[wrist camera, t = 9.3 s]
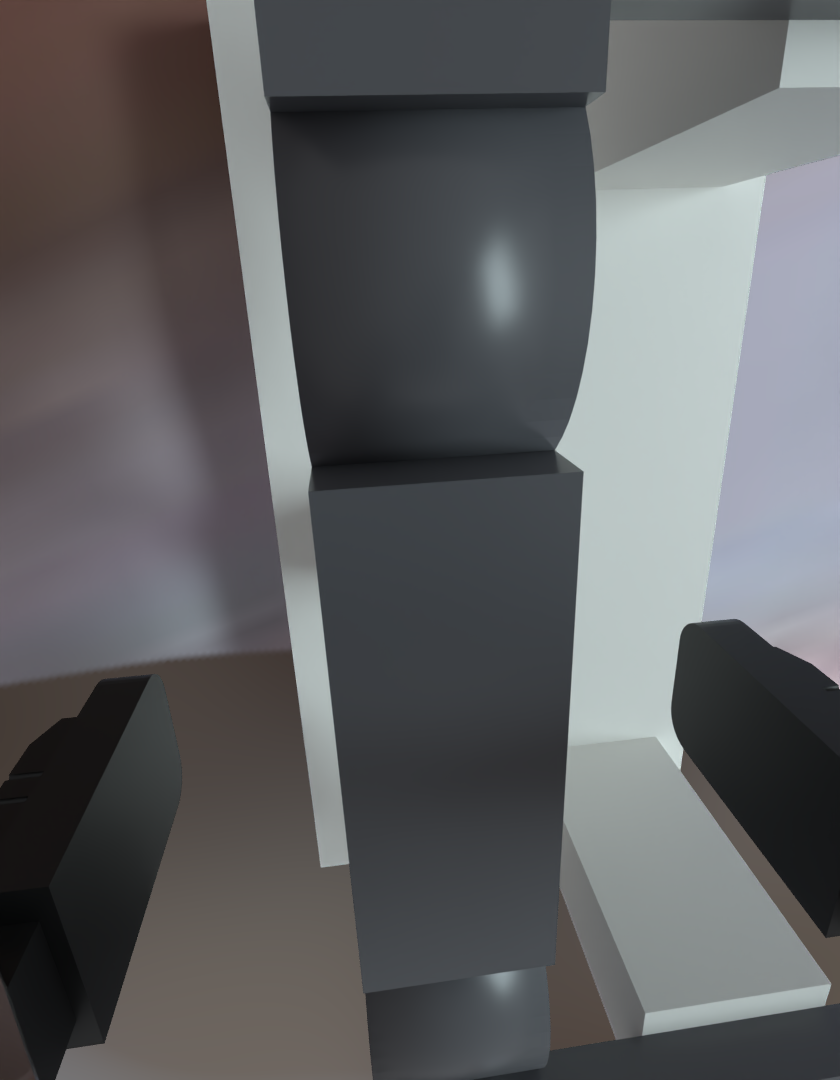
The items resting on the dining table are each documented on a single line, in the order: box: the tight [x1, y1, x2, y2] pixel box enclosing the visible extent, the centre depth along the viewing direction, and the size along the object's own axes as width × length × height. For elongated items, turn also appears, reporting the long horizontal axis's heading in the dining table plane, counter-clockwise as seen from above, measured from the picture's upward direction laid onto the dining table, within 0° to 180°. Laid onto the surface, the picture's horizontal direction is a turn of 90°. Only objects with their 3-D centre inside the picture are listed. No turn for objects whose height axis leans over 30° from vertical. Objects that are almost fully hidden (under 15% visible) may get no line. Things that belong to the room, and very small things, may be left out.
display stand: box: [206, 0, 840, 1040], centre depth 14 cm, size 23×12×10 cm, turn 2°
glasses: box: [254, 0, 840, 1080], centre depth 11 cm, size 19×11×5 cm, turn 2°
